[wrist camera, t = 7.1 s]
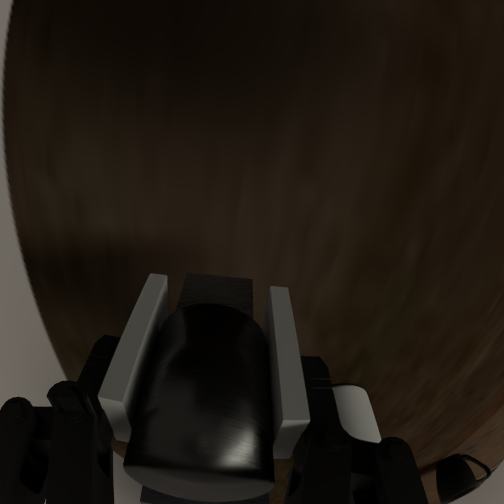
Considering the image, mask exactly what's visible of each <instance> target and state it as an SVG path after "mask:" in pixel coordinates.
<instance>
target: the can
mask: <svg viewBox="0 0 504 504" xmlns="http://www.w3.org/2000/svg"><path fill="white" fill-rule="evenodd" d="M332 390H333V392H334V396H335V401H336V405H337V409H338V414H339V418H340V422H341V425H342V427H343V428H344V430H346V431H347V432H348V434H349V435H351V436H352V437H354V438H357V439H360V440H364V441H369V442H375V443H379V442H380V441H381V437H380V434H379V431H378V427H377V424H376V421H375V417H374V414H373V411H372V408H371V404H370V401H369V398H368V395H367V393H366V391H365V390H364V389H362V388H360V387H358V386H355V385H350V384H343V385H336V386H332Z"/></svg>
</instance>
